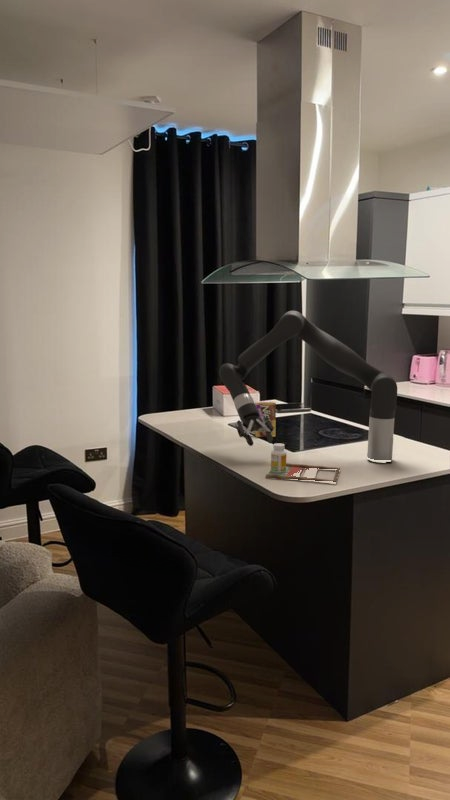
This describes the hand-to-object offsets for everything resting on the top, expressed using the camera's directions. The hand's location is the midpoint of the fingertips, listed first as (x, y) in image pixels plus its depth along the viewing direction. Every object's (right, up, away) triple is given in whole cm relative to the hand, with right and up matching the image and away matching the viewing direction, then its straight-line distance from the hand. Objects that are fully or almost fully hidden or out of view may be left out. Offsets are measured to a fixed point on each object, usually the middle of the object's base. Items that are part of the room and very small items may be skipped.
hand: (261, 443), depth 222 cm
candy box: (+4, 0, +44) cm, 44 cm away
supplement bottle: (+5, -9, -9) cm, 14 cm away
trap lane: (+14, -10, -11) cm, 20 cm away
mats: (+14, -10, -11) cm, 20 cm away
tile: (+5, -10, -9) cm, 14 cm away
